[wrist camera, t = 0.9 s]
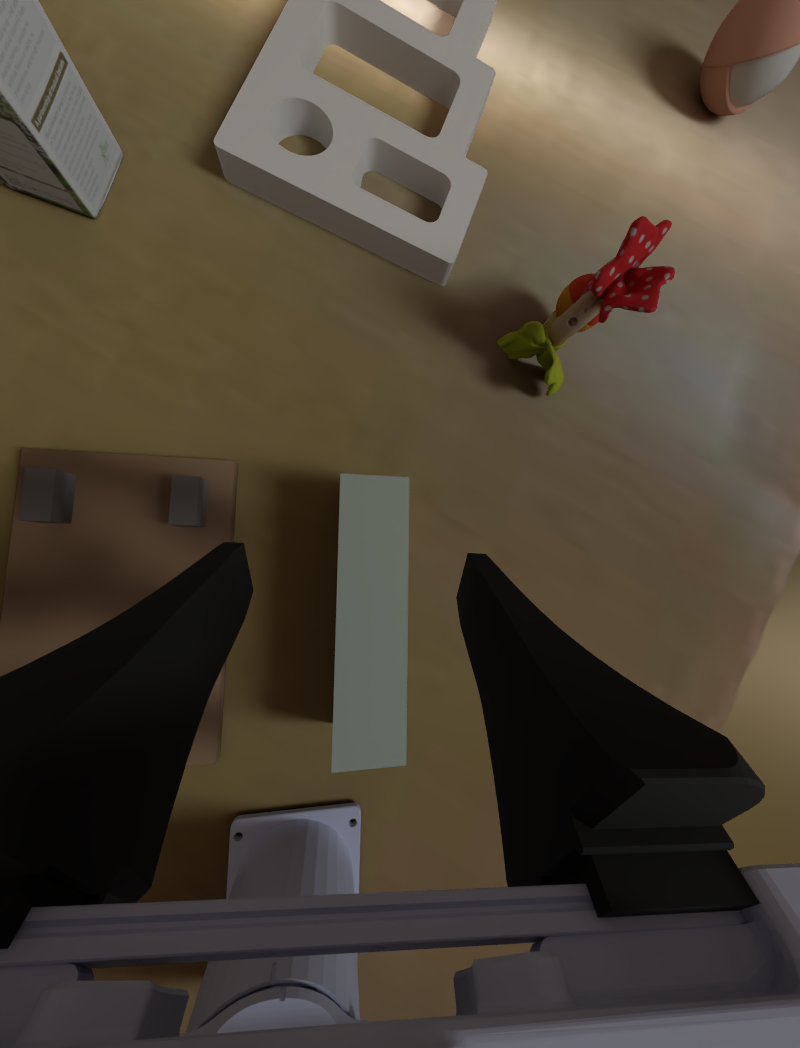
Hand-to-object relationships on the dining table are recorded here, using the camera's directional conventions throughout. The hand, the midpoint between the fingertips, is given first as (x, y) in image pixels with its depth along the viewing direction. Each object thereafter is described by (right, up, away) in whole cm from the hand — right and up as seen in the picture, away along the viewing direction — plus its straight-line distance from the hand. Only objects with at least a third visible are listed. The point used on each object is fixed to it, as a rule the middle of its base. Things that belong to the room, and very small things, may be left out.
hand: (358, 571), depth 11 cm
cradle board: (-16, -4, +10) cm, 19 cm away
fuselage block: (-1, -4, +13) cm, 14 cm away
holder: (+4, +45, +19) cm, 49 cm away
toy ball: (+33, +45, +23) cm, 60 cm away
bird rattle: (+13, +16, +17) cm, 27 cm away
